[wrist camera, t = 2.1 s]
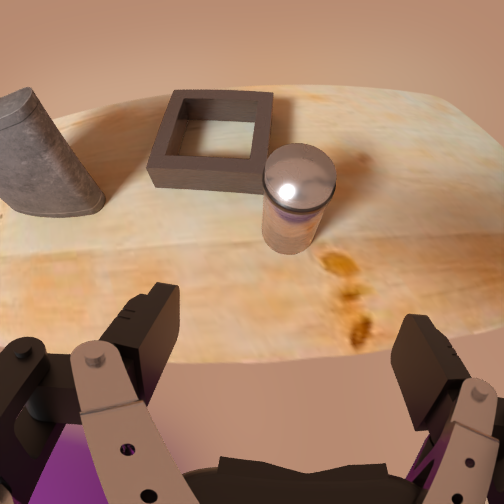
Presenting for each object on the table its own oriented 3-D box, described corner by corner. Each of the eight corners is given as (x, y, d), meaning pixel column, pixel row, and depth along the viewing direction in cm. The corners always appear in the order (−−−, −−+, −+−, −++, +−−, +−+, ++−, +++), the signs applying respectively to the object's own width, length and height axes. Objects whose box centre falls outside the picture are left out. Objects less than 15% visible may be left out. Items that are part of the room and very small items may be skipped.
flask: (98, 222, 30) (-1, 99, 14) (7, 216, 31) (-85, 131, 14) (108, 191, 32) (26, 62, 15) (17, 190, 32) (-66, 100, 15)
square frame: (272, 114, 35) (273, 92, 32) (264, 194, 31) (265, 174, 28) (179, 110, 36) (174, 89, 32) (155, 187, 32) (146, 167, 28)
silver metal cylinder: (316, 208, 31) (337, 146, 22) (314, 258, 29) (339, 208, 20) (262, 203, 31) (265, 138, 22) (257, 253, 29) (259, 200, 20)
